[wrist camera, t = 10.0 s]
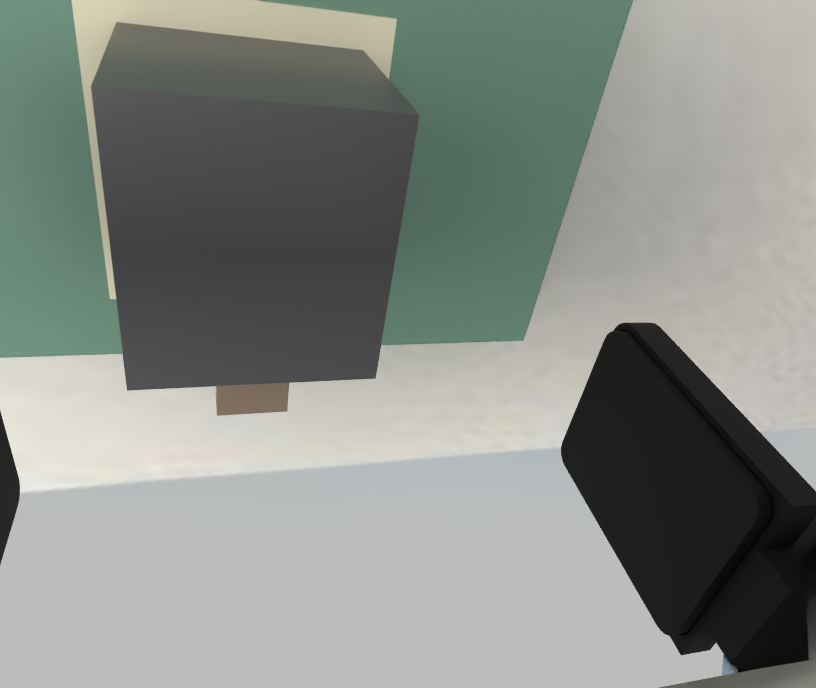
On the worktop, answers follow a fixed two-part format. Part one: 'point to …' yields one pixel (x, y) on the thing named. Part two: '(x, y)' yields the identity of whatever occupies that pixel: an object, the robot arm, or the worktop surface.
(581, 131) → the header board
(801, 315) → the worktop surface
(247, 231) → the block
